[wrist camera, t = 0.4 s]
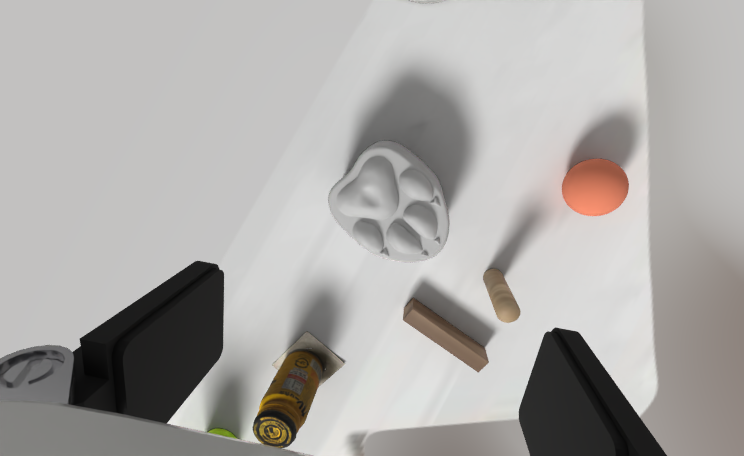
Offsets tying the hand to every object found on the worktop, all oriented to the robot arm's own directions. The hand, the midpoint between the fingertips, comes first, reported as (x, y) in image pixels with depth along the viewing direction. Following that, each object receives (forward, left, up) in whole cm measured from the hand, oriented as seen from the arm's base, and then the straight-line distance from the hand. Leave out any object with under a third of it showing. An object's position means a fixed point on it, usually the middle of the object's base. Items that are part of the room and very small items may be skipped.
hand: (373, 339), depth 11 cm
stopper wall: (+20, +9, -35) cm, 41 cm away
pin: (+12, +13, -35) cm, 39 cm away
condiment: (+31, -9, -35) cm, 48 cm away
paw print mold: (+4, -1, -35) cm, 35 cm away
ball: (-2, +19, -32) cm, 37 cm away
